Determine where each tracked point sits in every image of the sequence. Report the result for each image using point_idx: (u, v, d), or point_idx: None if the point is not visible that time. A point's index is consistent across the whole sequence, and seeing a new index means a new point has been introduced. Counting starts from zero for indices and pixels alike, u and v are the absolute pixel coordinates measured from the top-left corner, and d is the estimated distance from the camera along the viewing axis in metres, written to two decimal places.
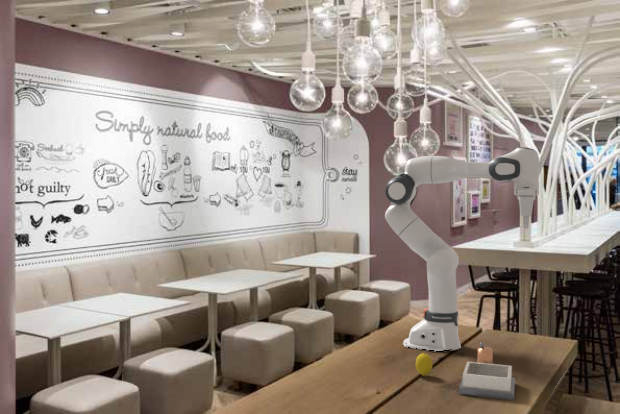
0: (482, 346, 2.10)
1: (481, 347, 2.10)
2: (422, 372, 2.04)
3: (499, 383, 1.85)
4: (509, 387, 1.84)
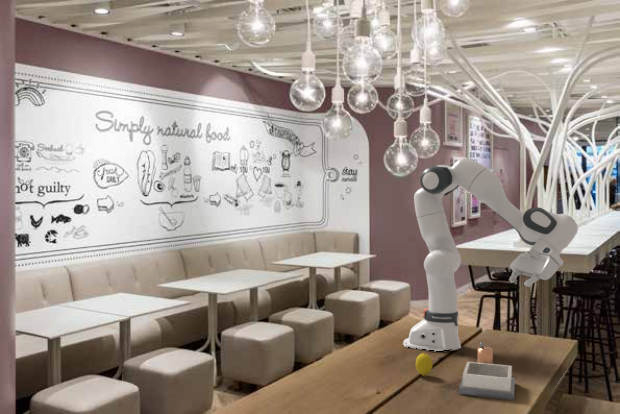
0: (482, 346, 2.10)
1: (481, 347, 2.10)
2: (422, 372, 2.04)
3: (499, 383, 1.85)
4: (509, 387, 1.84)
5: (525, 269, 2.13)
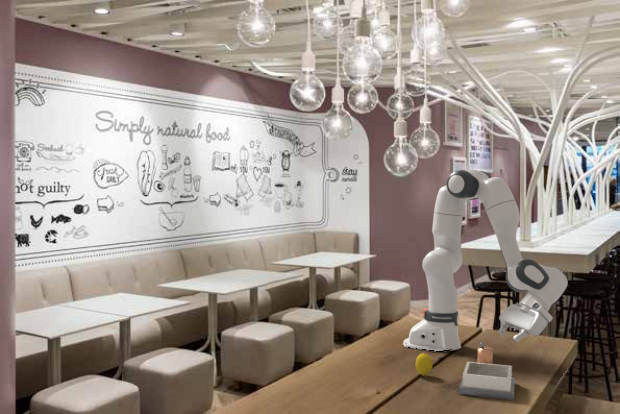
0: (482, 346, 2.10)
1: (481, 347, 2.10)
2: (422, 372, 2.04)
3: (499, 383, 1.85)
4: (509, 387, 1.84)
5: (514, 323, 2.12)
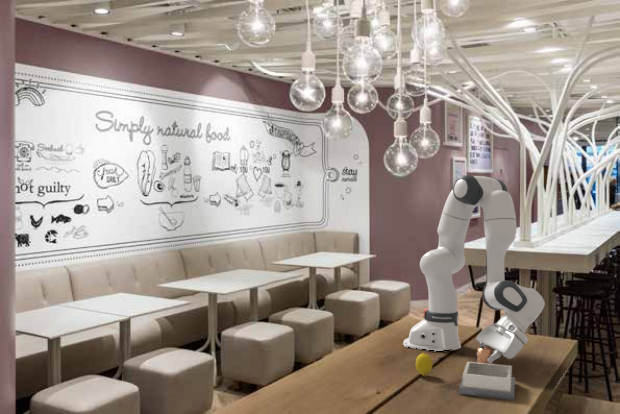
0: (482, 346, 2.10)
1: (481, 347, 2.10)
2: (422, 372, 2.04)
3: (499, 383, 1.85)
4: (509, 387, 1.84)
5: (490, 345, 2.10)
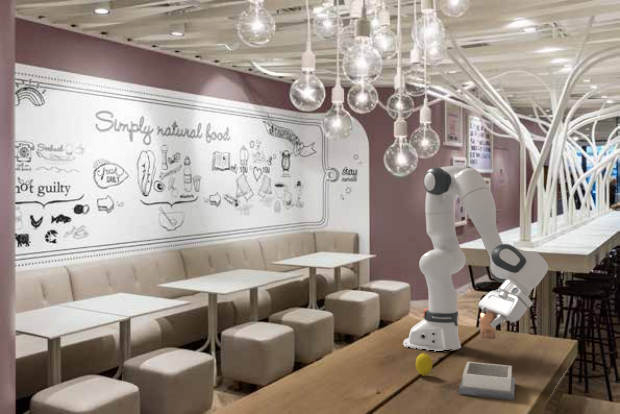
0: (485, 311, 2.03)
1: (484, 312, 2.03)
2: (422, 372, 2.04)
3: (499, 383, 1.85)
4: (509, 387, 1.84)
5: (493, 309, 2.04)
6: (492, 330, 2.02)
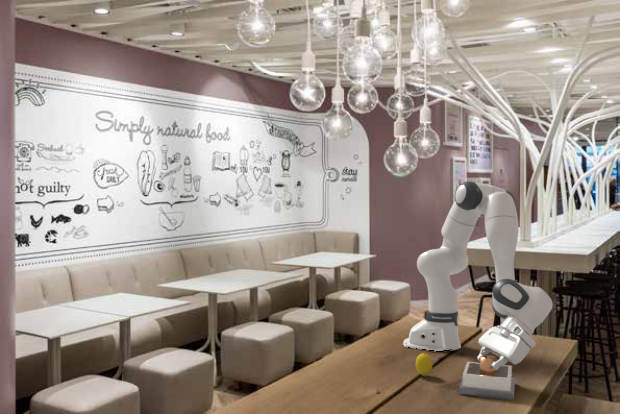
0: (485, 355, 1.92)
1: (484, 356, 1.92)
2: (422, 372, 2.04)
3: (499, 383, 1.85)
4: (509, 387, 1.84)
5: (494, 349, 1.93)
6: None
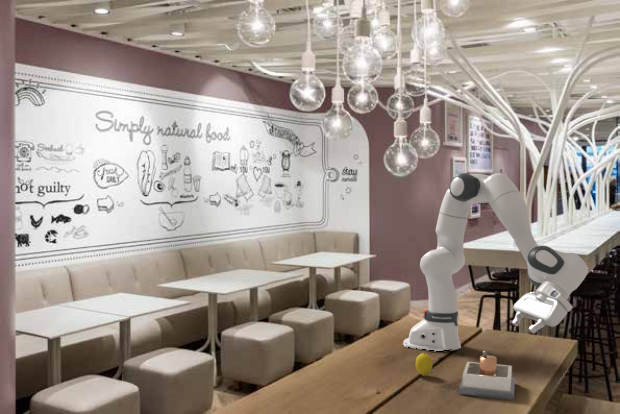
0: (485, 355, 1.92)
1: (484, 356, 1.92)
2: (422, 372, 2.04)
3: (499, 383, 1.85)
4: (509, 387, 1.84)
5: (530, 313, 1.96)
6: None
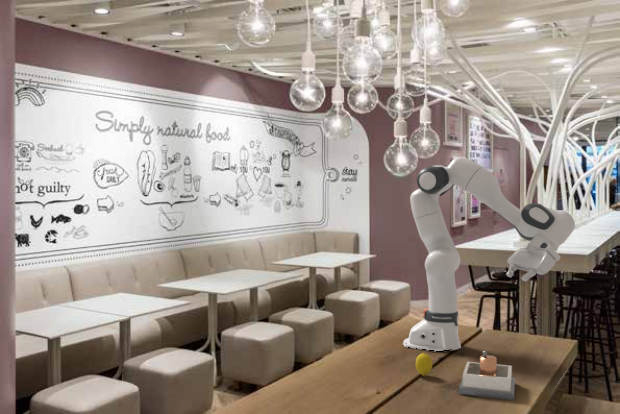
0: (485, 355, 1.92)
1: (484, 356, 1.92)
2: (422, 372, 2.04)
3: (499, 383, 1.85)
4: (509, 387, 1.84)
5: (522, 264, 2.15)
6: None
